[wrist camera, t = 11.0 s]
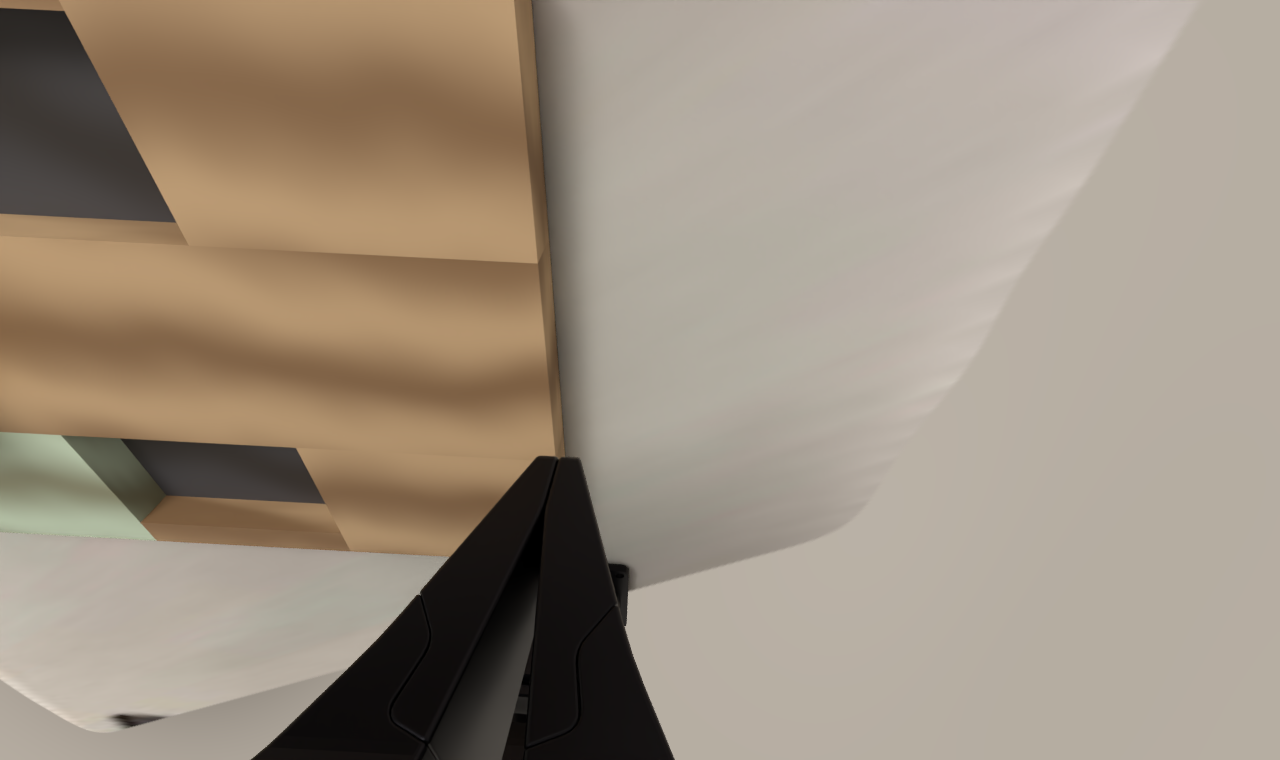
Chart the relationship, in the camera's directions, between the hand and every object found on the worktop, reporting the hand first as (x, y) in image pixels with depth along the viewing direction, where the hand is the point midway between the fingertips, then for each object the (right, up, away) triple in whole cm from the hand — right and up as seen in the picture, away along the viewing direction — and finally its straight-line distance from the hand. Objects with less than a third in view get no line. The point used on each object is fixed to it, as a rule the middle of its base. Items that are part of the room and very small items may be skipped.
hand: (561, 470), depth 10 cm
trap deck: (-18, +4, +10) cm, 21 cm away
